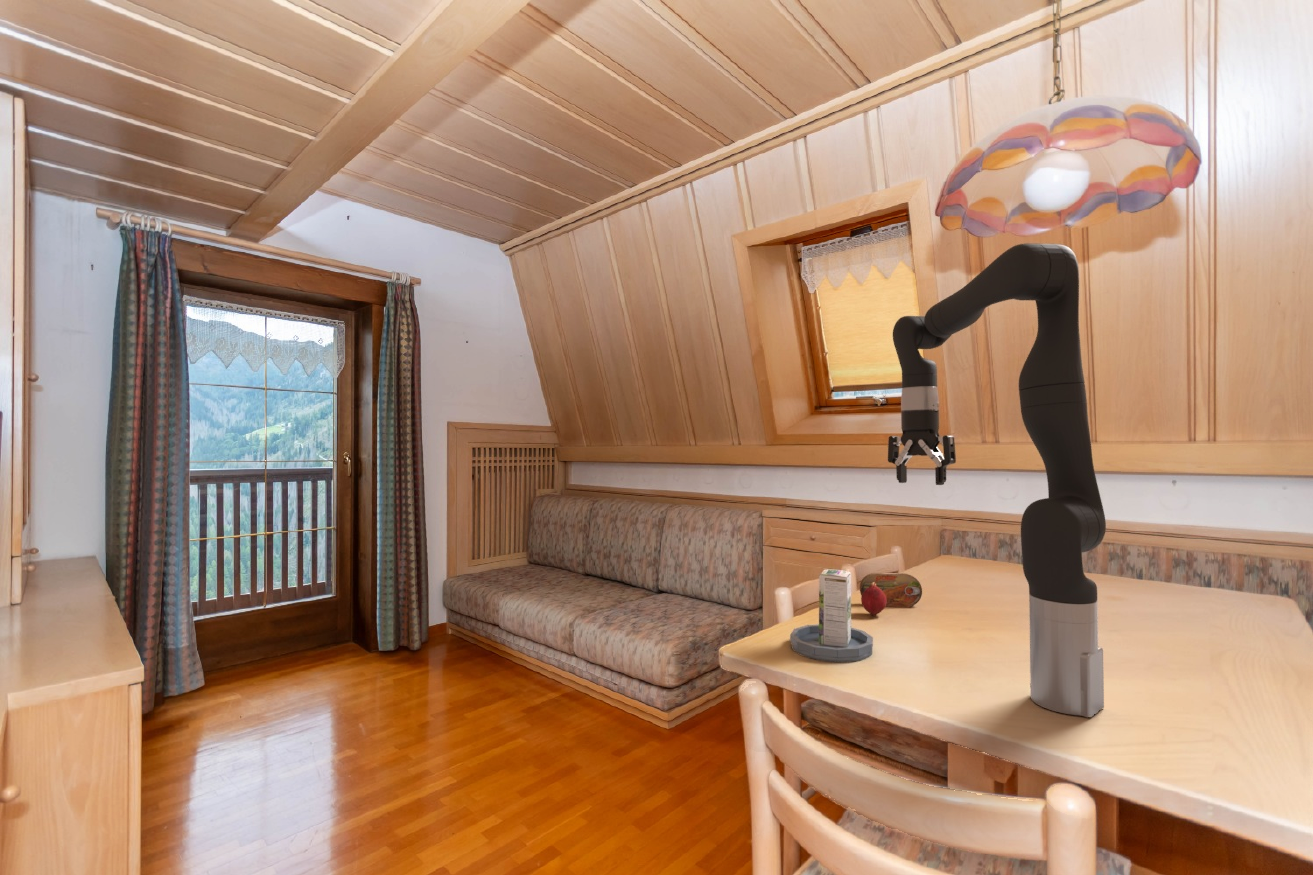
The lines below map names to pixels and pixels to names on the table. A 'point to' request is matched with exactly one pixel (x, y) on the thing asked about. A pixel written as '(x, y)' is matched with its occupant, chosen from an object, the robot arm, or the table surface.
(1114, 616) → the table surface
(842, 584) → the juice carton
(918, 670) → the table surface
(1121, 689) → the table surface
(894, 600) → the tin
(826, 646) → the dish
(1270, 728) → the table surface
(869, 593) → the onion
